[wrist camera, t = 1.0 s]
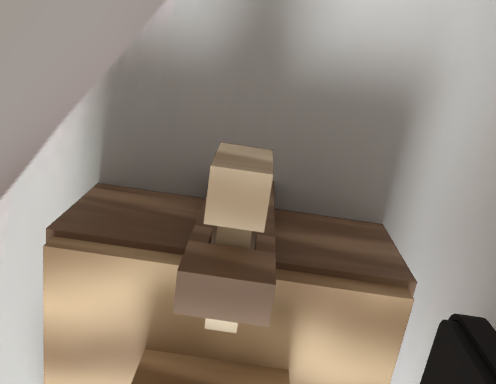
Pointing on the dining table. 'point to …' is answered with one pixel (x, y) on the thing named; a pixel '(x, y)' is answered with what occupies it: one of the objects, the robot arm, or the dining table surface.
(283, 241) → the toolbox
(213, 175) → the wooden key
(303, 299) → the lid
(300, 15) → the dining table surface
